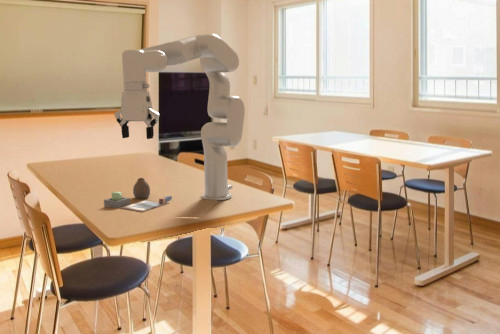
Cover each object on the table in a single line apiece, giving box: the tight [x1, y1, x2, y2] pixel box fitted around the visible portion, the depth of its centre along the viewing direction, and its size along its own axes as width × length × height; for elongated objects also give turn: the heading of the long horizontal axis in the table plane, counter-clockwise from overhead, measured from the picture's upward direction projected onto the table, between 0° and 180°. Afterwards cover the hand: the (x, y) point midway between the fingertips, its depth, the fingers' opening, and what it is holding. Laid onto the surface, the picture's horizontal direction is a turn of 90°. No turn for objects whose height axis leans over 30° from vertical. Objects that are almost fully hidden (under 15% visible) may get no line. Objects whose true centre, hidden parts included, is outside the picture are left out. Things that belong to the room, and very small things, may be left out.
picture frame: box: [118, 199, 169, 213], centre depth 195 cm, size 15×12×1 cm
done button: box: [111, 191, 123, 201], centre depth 196 cm, size 4×4×4 cm
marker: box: [158, 195, 173, 203], centre depth 202 cm, size 10×2×2 cm, turn 169°
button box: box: [103, 196, 131, 209], centre depth 197 cm, size 7×7×3 cm
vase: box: [132, 177, 151, 200], centre depth 208 cm, size 7×7×9 cm
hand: (137, 138), depth 171 cm, fingers open, 9 cm apart
